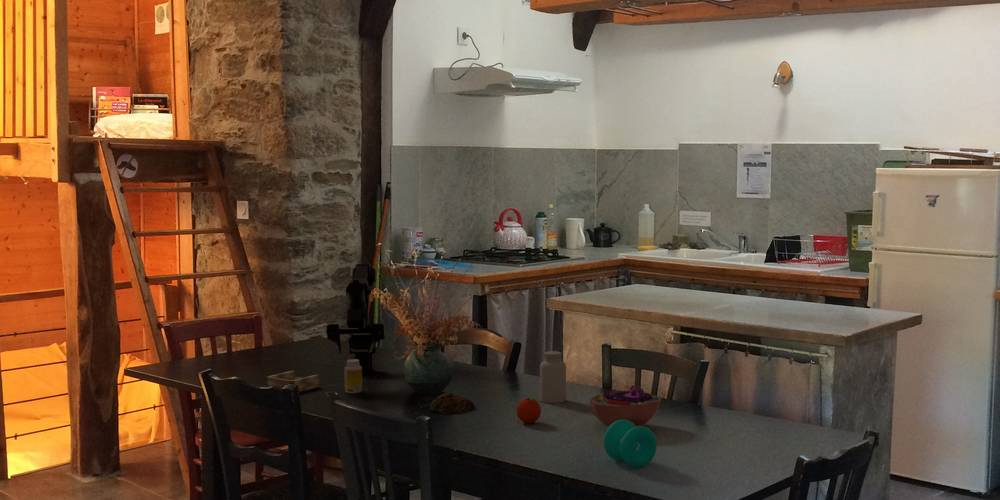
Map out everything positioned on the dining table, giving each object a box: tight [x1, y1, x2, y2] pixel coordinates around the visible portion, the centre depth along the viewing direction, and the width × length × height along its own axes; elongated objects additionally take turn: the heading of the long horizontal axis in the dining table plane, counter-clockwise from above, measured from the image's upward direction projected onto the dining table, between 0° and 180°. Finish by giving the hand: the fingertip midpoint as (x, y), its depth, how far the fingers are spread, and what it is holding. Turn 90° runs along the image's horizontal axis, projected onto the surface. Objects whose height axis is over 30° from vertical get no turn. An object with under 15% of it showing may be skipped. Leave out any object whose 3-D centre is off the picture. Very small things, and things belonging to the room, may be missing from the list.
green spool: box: [603, 420, 658, 469], centre depth 249 cm, size 10×10×10 cm
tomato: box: [515, 397, 544, 424], centre depth 288 cm, size 8×7×7 cm
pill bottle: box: [539, 350, 567, 405], centre depth 313 cm, size 8×8×15 cm
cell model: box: [589, 385, 662, 427], centre depth 282 cm, size 17×20×11 cm
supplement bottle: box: [343, 358, 363, 394], centre depth 327 cm, size 6×6×10 cm
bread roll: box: [429, 392, 476, 415], centre depth 304 cm, size 13×12×5 cm
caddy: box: [265, 370, 320, 393], centre depth 333 cm, size 12×12×4 cm
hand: (354, 352), depth 331 cm, fingers open, 9 cm apart
